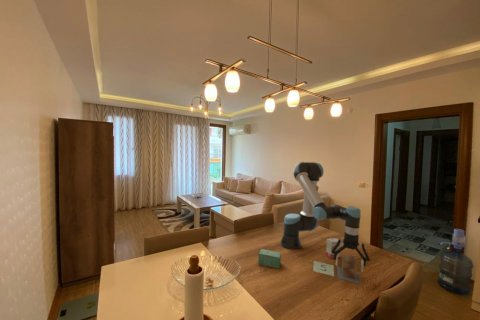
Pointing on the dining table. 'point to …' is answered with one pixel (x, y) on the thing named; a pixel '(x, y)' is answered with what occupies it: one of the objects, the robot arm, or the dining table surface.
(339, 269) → the mat
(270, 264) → the box
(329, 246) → the ink box
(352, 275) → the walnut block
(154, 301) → the dining table surface
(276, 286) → the dining table surface
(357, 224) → the robot arm
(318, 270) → the tile
